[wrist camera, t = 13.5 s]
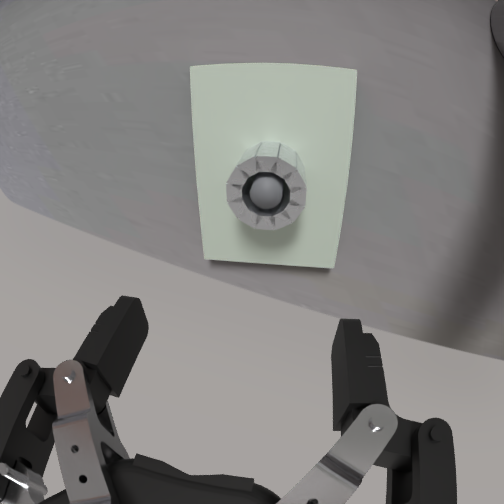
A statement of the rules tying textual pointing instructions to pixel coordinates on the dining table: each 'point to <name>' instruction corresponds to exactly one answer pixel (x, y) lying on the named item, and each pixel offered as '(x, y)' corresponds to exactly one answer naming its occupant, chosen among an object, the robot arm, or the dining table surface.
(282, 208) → the cylinder
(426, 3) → the dining table surface
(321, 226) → the post base
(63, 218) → the dining table surface
